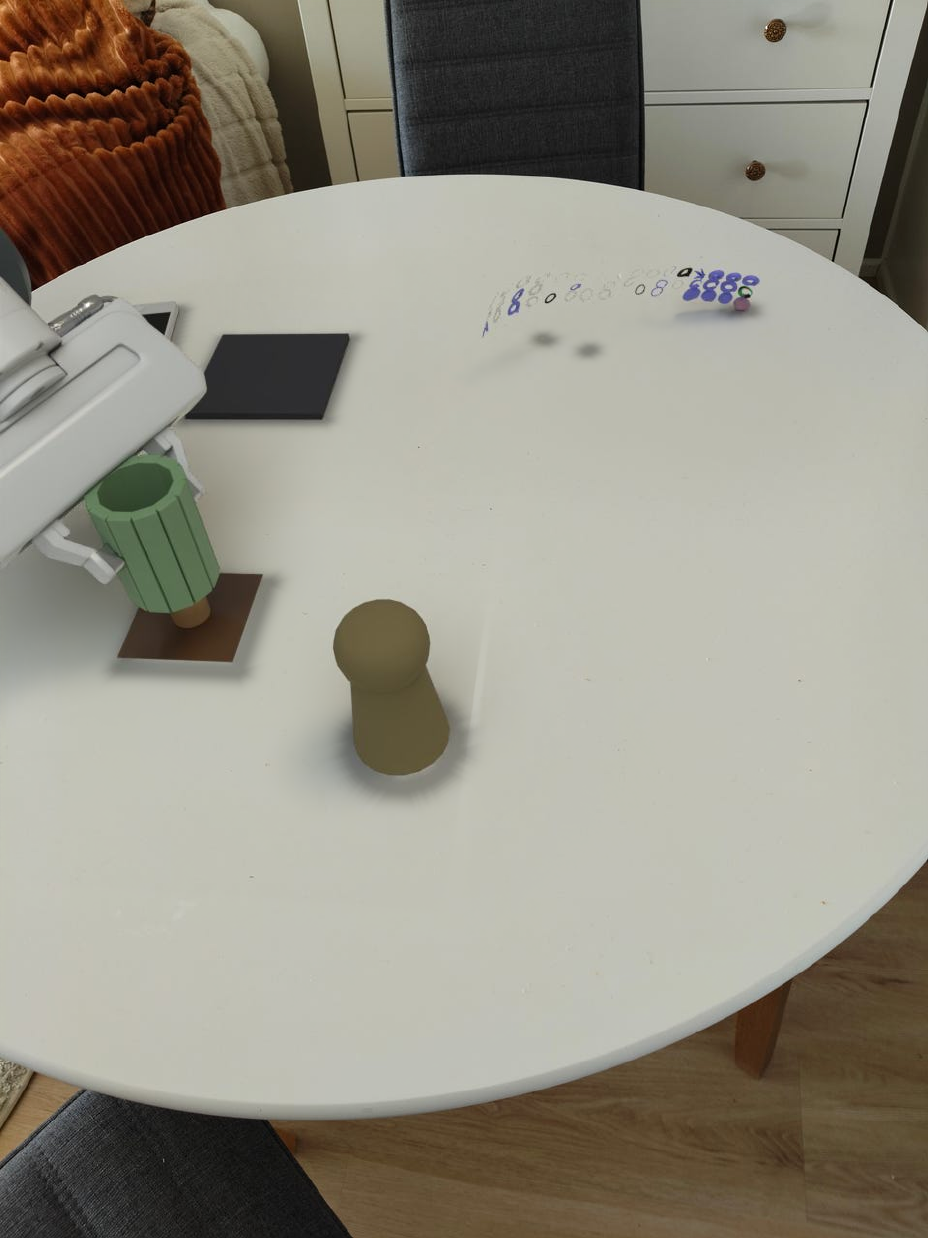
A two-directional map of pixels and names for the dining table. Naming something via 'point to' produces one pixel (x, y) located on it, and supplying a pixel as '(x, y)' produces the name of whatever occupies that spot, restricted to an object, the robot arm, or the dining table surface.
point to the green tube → (155, 533)
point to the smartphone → (160, 316)
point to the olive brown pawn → (391, 687)
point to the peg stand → (196, 625)
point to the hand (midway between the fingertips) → (157, 537)
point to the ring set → (690, 294)
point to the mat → (271, 376)
